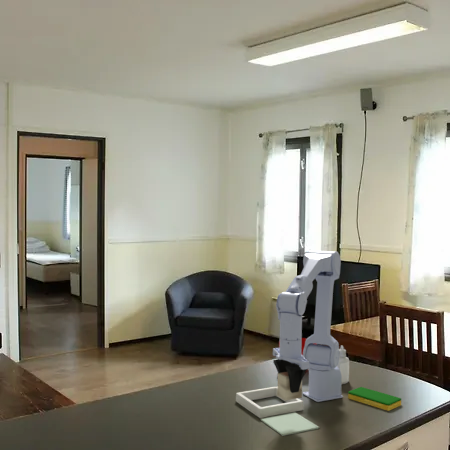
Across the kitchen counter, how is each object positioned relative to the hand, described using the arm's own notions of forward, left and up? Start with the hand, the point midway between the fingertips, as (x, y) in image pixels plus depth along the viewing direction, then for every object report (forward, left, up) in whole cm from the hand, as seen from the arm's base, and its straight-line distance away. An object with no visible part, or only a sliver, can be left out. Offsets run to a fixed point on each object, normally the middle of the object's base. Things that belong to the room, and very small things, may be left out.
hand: (289, 389), depth 150 cm
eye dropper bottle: (-34, -22, -10) cm, 42 cm away
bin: (-2, -14, -9) cm, 17 cm away
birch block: (0, 0, -2) cm, 2 cm away
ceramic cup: (-29, -37, -10) cm, 48 cm away
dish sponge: (-32, -4, -10) cm, 34 cm away
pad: (0, 0, -9) cm, 9 cm away
